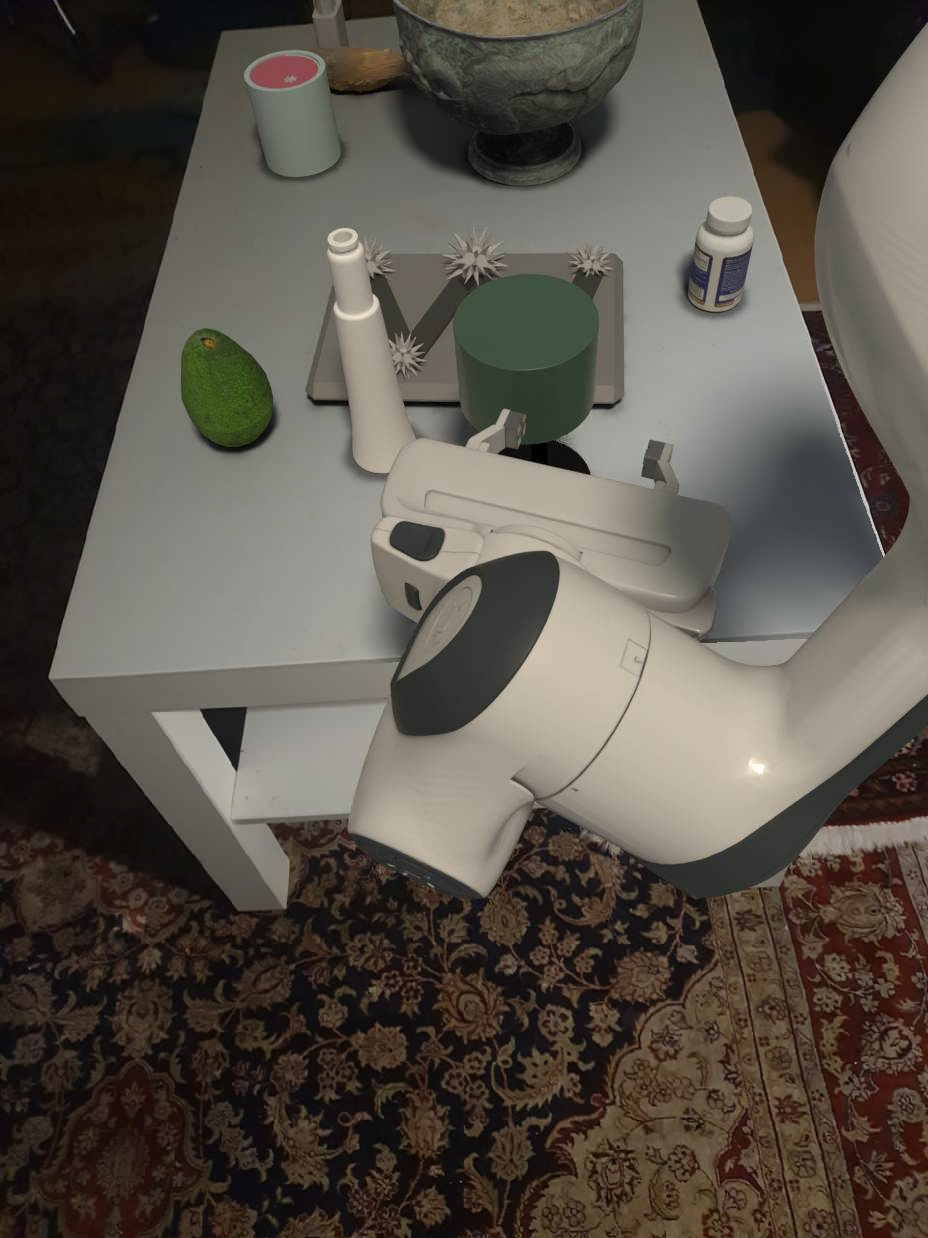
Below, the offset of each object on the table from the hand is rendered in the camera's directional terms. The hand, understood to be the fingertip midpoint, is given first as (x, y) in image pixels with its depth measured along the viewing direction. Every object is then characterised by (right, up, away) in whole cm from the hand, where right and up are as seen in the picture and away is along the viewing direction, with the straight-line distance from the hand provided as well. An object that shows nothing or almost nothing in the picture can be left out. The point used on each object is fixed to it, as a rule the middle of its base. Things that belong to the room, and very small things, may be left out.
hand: (586, 432), depth 58 cm
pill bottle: (+18, +21, +35) cm, 45 cm away
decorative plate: (-7, +17, +35) cm, 39 cm away
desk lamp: (-2, -3, +22) cm, 22 cm away
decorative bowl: (-1, +43, +52) cm, 67 cm away
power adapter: (-25, +63, +66) cm, 95 cm away
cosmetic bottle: (-15, +4, +27) cm, 31 cm away
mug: (-27, +47, +56) cm, 78 cm away
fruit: (-29, +6, +29) cm, 41 cm away
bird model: (-20, +57, +62) cm, 87 cm away
